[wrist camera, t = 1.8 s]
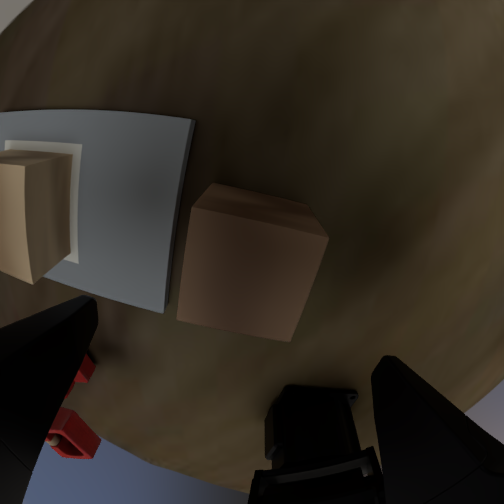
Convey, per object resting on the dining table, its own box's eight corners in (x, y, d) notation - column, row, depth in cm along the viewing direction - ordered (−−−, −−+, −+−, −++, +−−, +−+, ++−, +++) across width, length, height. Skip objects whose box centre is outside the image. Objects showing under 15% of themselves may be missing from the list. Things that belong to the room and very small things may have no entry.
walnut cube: (306, 204, 15) (329, 237, 10) (281, 285, 17) (289, 342, 12) (212, 182, 14) (191, 206, 10) (197, 267, 16) (176, 319, 12)
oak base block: (72, 154, 12) (24, 166, 9) (70, 252, 15) (33, 284, 11) (9, 149, 12) (-35, 160, 8) (10, 234, 14) (-26, 258, 11)
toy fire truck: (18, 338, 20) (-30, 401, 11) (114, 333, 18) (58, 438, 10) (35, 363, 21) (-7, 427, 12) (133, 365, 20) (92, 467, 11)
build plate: (195, 120, 13) (191, 119, 12) (167, 304, 17) (163, 313, 16) (3, 112, 12) (-6, 113, 11) (4, 252, 16) (-4, 257, 15)
